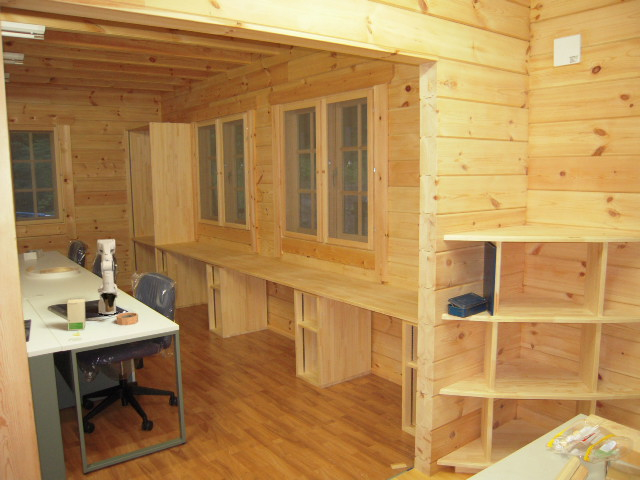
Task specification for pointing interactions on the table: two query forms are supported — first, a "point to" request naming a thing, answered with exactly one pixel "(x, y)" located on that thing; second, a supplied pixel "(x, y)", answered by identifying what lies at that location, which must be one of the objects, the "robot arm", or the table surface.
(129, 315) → the faceted orange bowl
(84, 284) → the table surface
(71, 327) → the skincare box
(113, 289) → the robot arm
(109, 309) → the wooden rectangular peg
